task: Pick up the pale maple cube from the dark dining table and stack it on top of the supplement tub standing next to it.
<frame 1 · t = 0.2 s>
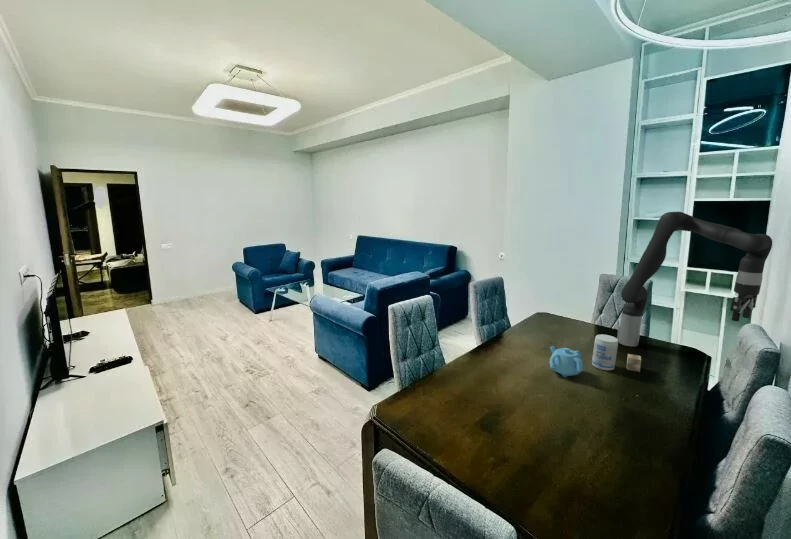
hand: (740, 319, 146), 29 cm above the table, fingers open, 8 cm apart
supplement tub: (603, 366, 167), on the table
teapot: (563, 371, 163), on the table
maple block: (632, 368, 165), on the table
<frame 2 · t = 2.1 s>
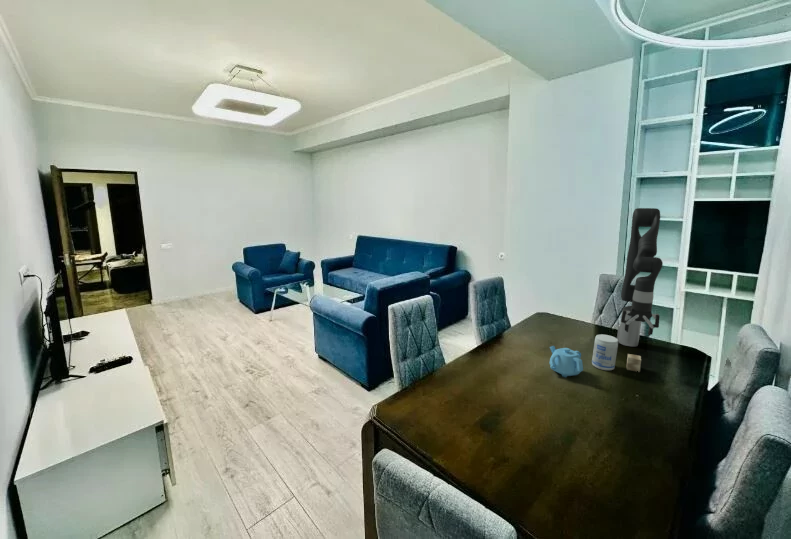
hand: (637, 333, 161), 18 cm above the table, fingers open, 8 cm apart
nothing on the table moved.
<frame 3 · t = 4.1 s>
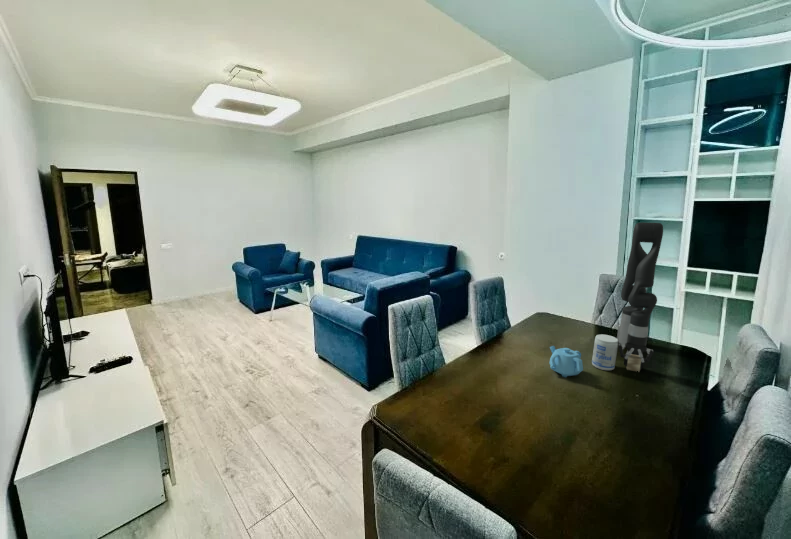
hand: (633, 367, 164), 1 cm above the table, fingers closed on maple block, 5 cm apart
maple block: (632, 368, 165), on the table, touching gripper
everything else where it was.
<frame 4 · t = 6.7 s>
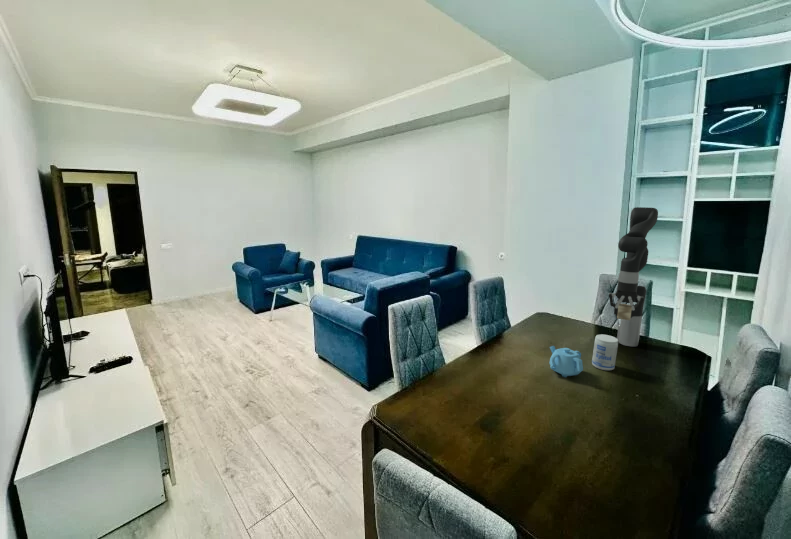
hand: (623, 316, 160), 26 cm above the table, fingers closed on maple block, 5 cm apart
maple block: (623, 317, 160), point 25 cm above the table, touching gripper
everything else where it was.
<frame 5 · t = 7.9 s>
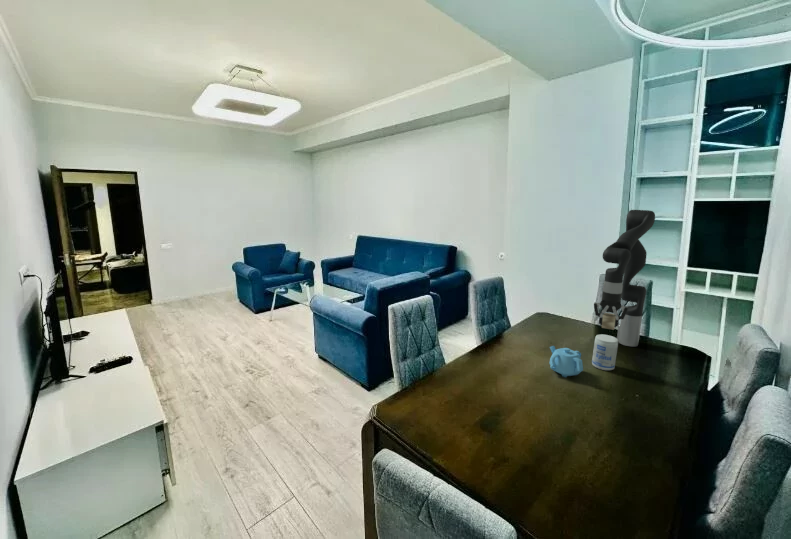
hand: (608, 325, 163), 21 cm above the table, fingers closed on maple block, 5 cm apart
maple block: (607, 327, 163), point 20 cm above the table, touching gripper
everything else where it was.
when the fingers open (17 cm above the table, at t = 9.0 s): maple block drops 2 cm, resting on supplement tub.
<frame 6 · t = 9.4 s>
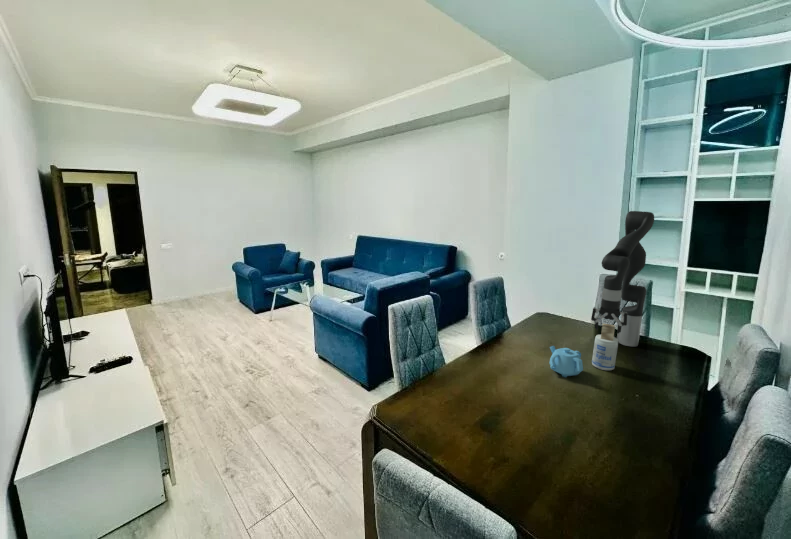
hand: (607, 331, 163), 18 cm above the table, fingers open, 8 cm apart
supplement tub: (603, 366, 167), on the table, touching maple block
maple block: (607, 337, 164), point 15 cm above the table, touching supplement tub
everything else where it was.
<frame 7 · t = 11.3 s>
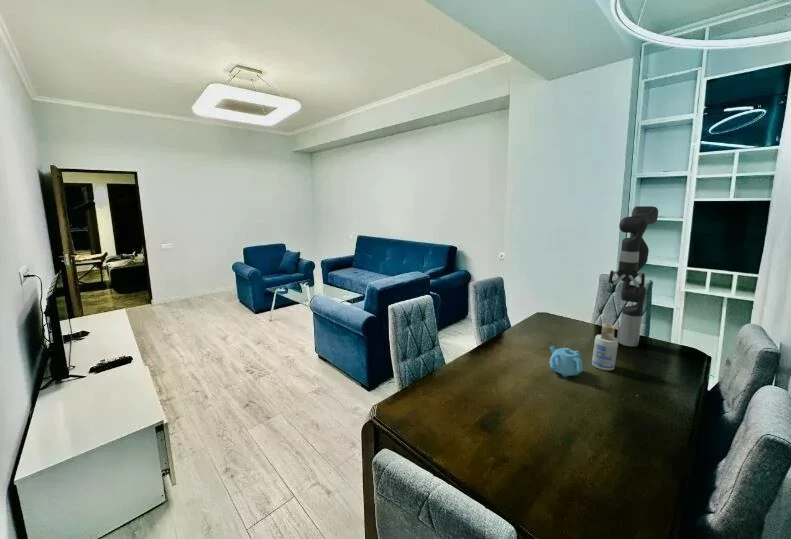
hand: (624, 292, 167), 35 cm above the table, fingers open, 8 cm apart
nothing on the table moved.
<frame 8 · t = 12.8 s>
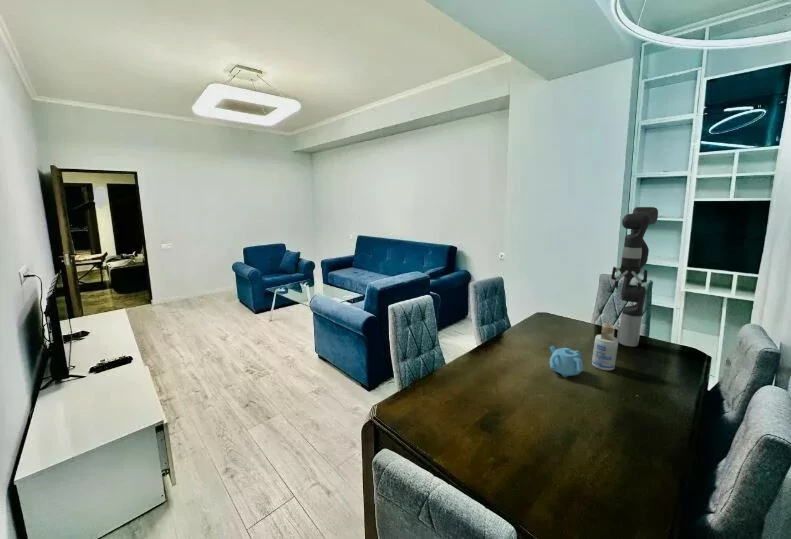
hand: (627, 289, 168), 36 cm above the table, fingers open, 8 cm apart
nothing on the table moved.
at the end: maple block point 14.6 cm above the table; maple block 0.4 cm from the supplement tub (horizontally); maple block tilted 0° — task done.
